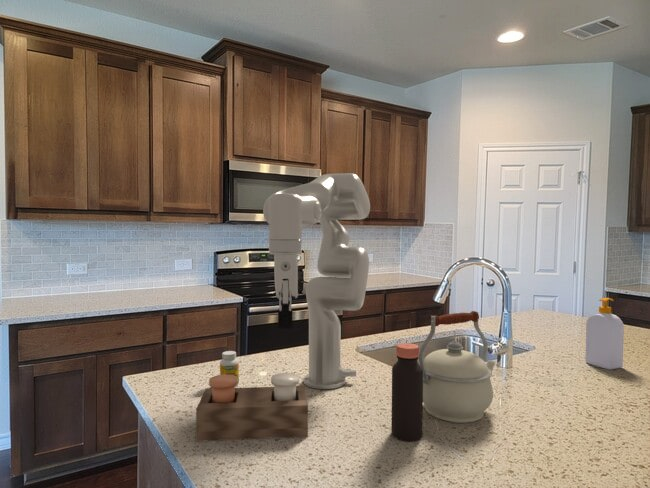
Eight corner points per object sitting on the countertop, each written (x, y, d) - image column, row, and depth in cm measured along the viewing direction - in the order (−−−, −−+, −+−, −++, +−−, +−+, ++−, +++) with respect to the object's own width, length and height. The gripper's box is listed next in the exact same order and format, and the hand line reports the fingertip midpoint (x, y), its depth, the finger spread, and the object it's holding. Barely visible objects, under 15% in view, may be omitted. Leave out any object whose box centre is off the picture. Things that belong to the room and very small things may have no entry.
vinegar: (415, 445, 93) (417, 351, 92) (386, 436, 96) (387, 346, 96) (426, 432, 98) (427, 344, 98) (398, 425, 102) (399, 340, 101)
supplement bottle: (234, 380, 132) (234, 349, 131) (241, 386, 127) (241, 353, 127) (217, 384, 129) (217, 351, 128) (223, 389, 124) (223, 356, 124)
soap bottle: (624, 367, 146) (626, 299, 146) (610, 370, 144) (612, 300, 143) (598, 360, 155) (600, 296, 154) (585, 362, 152) (586, 297, 151)
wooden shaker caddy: (305, 413, 108) (305, 385, 108) (307, 436, 96) (308, 405, 96) (205, 417, 106) (205, 388, 105) (196, 441, 94) (196, 409, 93)
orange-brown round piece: (239, 399, 103) (239, 374, 103) (236, 410, 97) (236, 383, 97) (211, 400, 103) (211, 374, 103) (207, 411, 96) (206, 384, 96)
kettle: (446, 435, 97) (448, 324, 96) (396, 406, 113) (397, 310, 112) (523, 414, 108) (525, 314, 108) (467, 390, 125) (469, 303, 124)
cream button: (298, 397, 105) (298, 372, 105) (299, 408, 99) (299, 381, 98) (271, 398, 104) (271, 373, 104) (270, 409, 98) (270, 382, 98)
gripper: (303, 249, 93) (303, 335, 93) (300, 246, 108) (300, 320, 109) (267, 249, 92) (267, 335, 93) (269, 246, 108) (269, 320, 108)
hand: (285, 326), depth 101 cm, fingers closed
